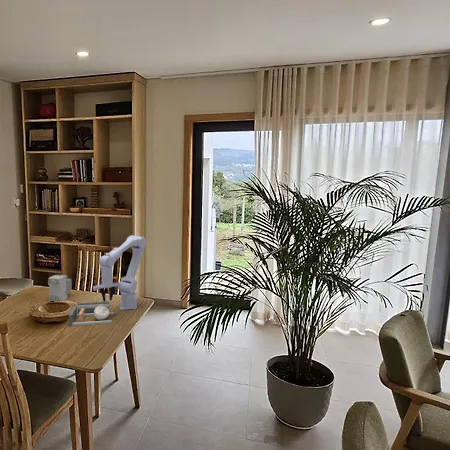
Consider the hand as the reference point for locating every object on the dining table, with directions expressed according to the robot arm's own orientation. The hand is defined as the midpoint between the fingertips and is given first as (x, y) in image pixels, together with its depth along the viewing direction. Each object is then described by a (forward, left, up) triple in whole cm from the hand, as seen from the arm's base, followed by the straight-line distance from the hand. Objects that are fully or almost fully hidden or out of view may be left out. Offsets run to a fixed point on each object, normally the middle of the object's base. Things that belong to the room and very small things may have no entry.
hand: (107, 300), depth 178 cm
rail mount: (+8, +1, -9) cm, 12 cm away
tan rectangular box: (+13, +3, -9) cm, 16 cm away
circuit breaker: (+32, -34, -10) cm, 48 cm away
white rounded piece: (+3, +3, -10) cm, 10 cm away
